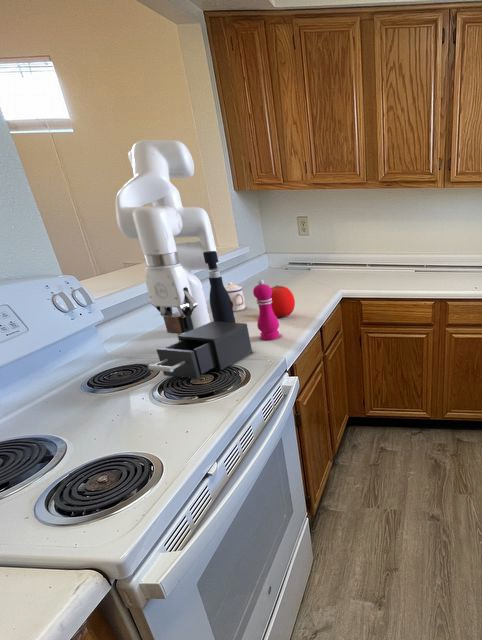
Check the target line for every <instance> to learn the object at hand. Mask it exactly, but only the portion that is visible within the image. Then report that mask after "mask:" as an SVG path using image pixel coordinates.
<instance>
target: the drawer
mask: <svg viewBox="0 0 482 640" xmlns="http://www.w3.org/2000/svg"><path fill="white" fill-rule="evenodd" d="M156 353H157V356H158V359H159V361H158V362H156V363H154V364H153V363H151V364H148V365H147V369H148V370H150V371H158V372H162V373H163V376H166V377H174V378H176V377H175V376H183V377H190V378H189V379H190V380H199V379H201V375H203V374H205V373H207V372H209V371H211V370H210V369H212V368H214V367H216V366H218V364H217V360H216V355H215V351H214V347H213V343H212V341H201V340H190V339H183V340H181V341H179V340H178V341H176V342H174V343H171V344H169V345H167V346H165V347H158V348H156ZM183 377H180V378H181V379H182V378H183ZM192 378H193V379H192ZM183 379H184V378H183Z"/></svg>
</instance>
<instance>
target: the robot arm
mask: <svg viewBox="0 0 482 640" xmlns="http://www.w3.org/2000/svg"><path fill="white" fill-rule="evenodd" d="M128 160H129V163H130V165H131V168H132V172H133V177H132V178H131V179H129V180H128V181H127V182H126V183H125V184H124V185H123V186H122V187H121V188H120V189H119V190H118V192H117V194H116V196H115V218H116V222H117V223H116V224H117V226H118V229H119V231H120V232H121V234H122V235H123V236H125V237H126V238H129V239H132V240H133V239H134V240H135V239H136V240H139V244H140V248H141V251H142V255H143V260H144V262H145V266H146V267H144V277H145V284H146V288H147V293H148V297H149V301H150V305H152V306H153V307H154V308H156V310H157V312H159V313H160V316H161V317H163V316H166V315H169V314H172V313H173V308H177V312H179V313H180V315H181V318H180V322H181V325H182V329H183V332H185V333H186V332H188V331H191V330H193V329H196V328H198V327H201V326H203V325H205V324H208V323H210V322H211V318H210V314H209V313H210V312H209V309H208V305H207V301H206V296H205V292H204V287H203V283H202V281H201V280H200V278H199V277H198V276H196V275H195V274H194V273H193V272H191V271H199V270H209V267H208V264H206V263H205V260H204V255H203V252H208V251H216V252H217V253H218V251H217V247H216V241H215V237H214V232H213V227H212V224H211V220H210V216H209V214H208V212H207V211H206V210H205V209H204V208H202V207H200V206H183V204H182V203H183V202H182V199H181V194H180V192H179V190H178V188H177V187H176V186H175V185H174V184H173V183H172V182H171V179H185V178H186V179H189V178H192V177H193V176H194V174H195V163H194V159H193V156H192V154H191V152H190V150H189V149H188V147H187V146H186V145H185V143H183V142H182V141H179V140H176V139H141V140H138V141H137V142H135V143H134V144H133V145H132V147H131V149H130V150H129V151H128ZM151 203H152V206H150V205H149V204H151ZM148 205H149V206H148ZM183 238H197V239H199V240H195V241H194V240H193V241H192V240H191V241H177V242H176V241H175V239H183ZM217 257H218V258H219V256H218V254H217ZM218 265H219V262H218V263H217V266H218ZM182 334H184V333H182ZM179 335H181V334H179Z"/></svg>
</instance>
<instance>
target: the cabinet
mask: <svg viewBox="0 0 482 640" xmlns="http://www.w3.org/2000/svg"><path fill="white" fill-rule="evenodd" d="M177 339H178V341H181V340H183V339H190V340H201V341H212V343H213V347H214V351H215V355H216V360H217V364H218V366H216V367H214V368H213V369H211V370H213V371H220V372H222V371H223V370H225V369H226V368H228V367H230V366H232V365H233V364H235V363H237V362H239V361H241V360H242V359H244V358H246V357H247V356H249V355H251V354H253V348H252V344H251V339H250V333H249V328H248V324H247V323H244V322H243V323H242V322H235V323H230V322H216V321H214V320H212V321H210V323H208V324H205V325H203V326H201V327H198V328H196V329H193V330H191V331H188V332H186V333H184V334H181V335H180V334H179V335H177ZM221 366H222V367H221ZM211 370H210V371H211Z"/></svg>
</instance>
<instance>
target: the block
mask: <svg viewBox="0 0 482 640" xmlns="http://www.w3.org/2000/svg"><path fill="white" fill-rule="evenodd" d="M162 318H163V321H164V325H165V328H166V332H167V334H175V335H176V334H179V335H180V334H182V333H185V332H183V329H182V325H181V322H180V318H181V315H180V313H179V311H175V312H172V314H169V315H166V316H162Z"/></svg>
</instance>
